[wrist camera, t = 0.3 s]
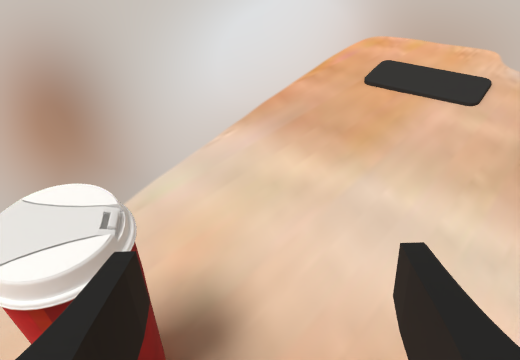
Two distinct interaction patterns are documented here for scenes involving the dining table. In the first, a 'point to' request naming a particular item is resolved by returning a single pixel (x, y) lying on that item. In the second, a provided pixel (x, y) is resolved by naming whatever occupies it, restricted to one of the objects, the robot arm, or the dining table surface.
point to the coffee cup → (62, 255)
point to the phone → (429, 82)
